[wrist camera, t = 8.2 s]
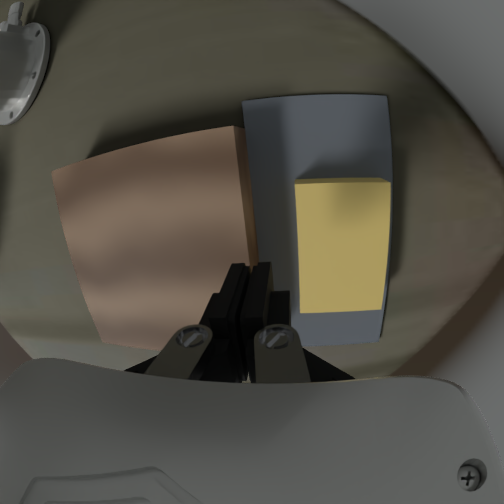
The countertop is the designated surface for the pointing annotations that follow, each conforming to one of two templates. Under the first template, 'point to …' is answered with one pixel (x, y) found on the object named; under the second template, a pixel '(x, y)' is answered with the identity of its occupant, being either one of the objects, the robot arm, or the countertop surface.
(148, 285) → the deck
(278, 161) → the mat
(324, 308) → the yellow block
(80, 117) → the countertop surface
